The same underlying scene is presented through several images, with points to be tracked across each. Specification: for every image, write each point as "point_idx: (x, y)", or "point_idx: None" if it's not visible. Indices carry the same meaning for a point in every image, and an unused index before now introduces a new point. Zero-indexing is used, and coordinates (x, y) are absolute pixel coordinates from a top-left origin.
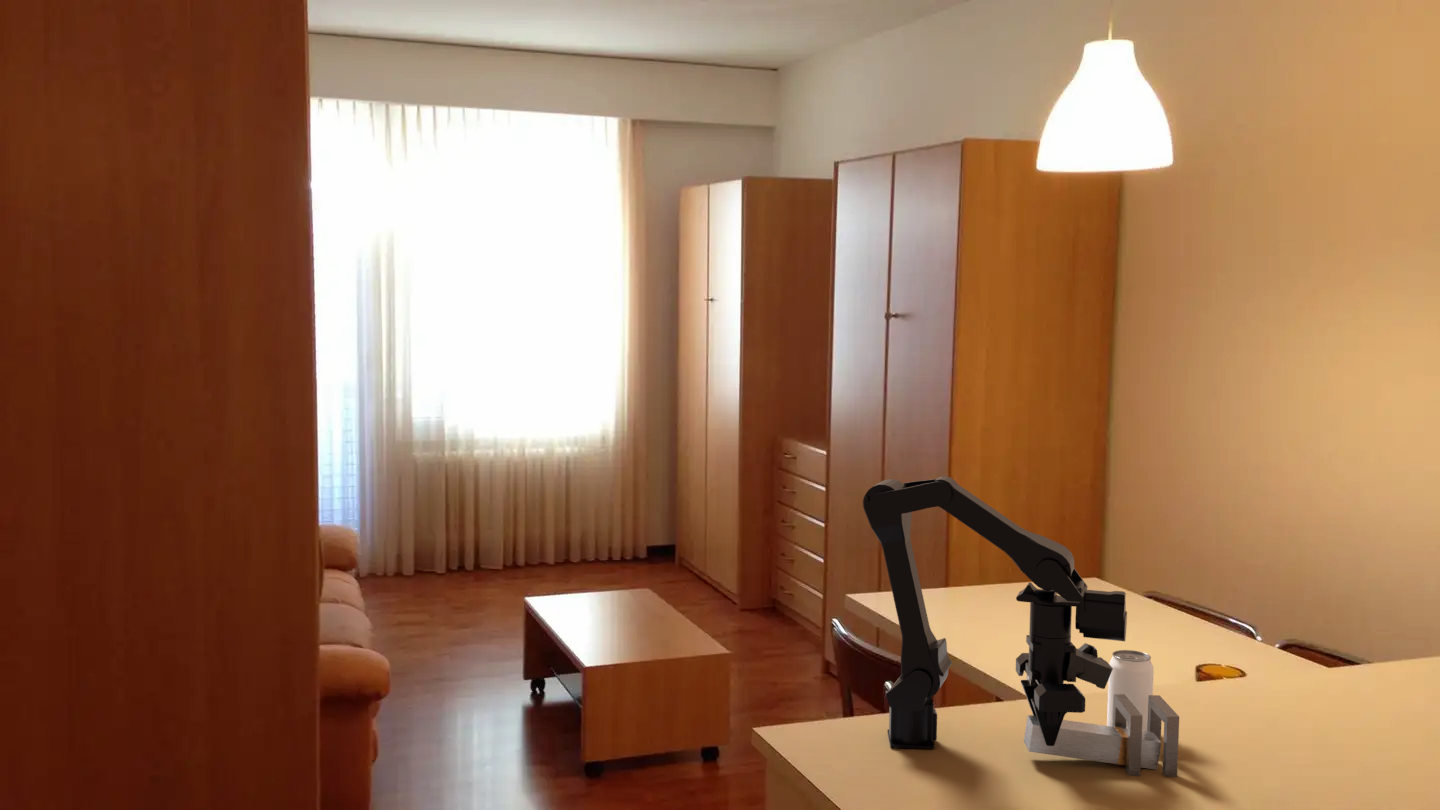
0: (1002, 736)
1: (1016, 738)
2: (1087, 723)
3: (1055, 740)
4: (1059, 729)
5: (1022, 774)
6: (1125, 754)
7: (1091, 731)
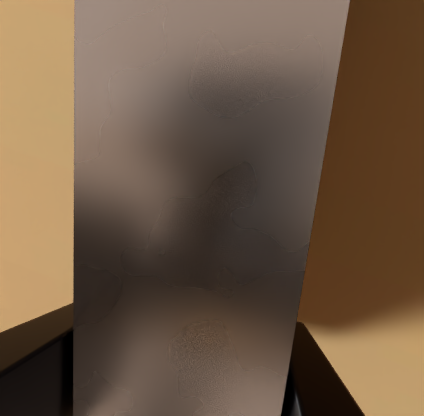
0: (3, 322)
1: (11, 285)
2: (82, 44)
3: (315, 344)
4: (359, 407)
5: (361, 395)
6: None
7: (297, 74)
